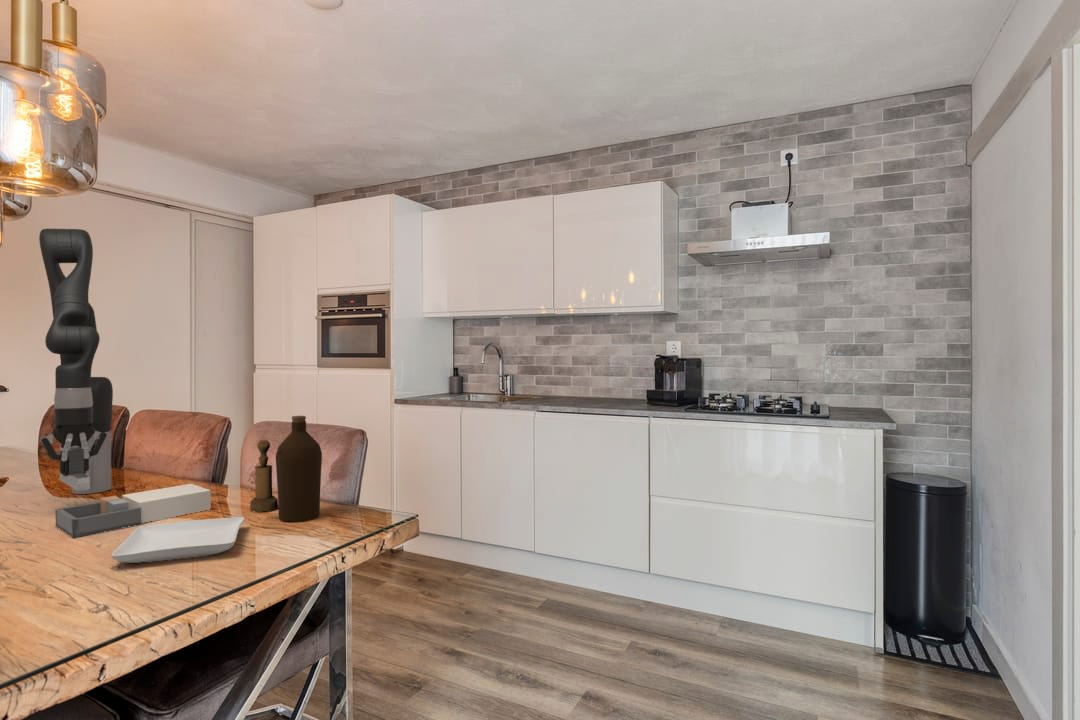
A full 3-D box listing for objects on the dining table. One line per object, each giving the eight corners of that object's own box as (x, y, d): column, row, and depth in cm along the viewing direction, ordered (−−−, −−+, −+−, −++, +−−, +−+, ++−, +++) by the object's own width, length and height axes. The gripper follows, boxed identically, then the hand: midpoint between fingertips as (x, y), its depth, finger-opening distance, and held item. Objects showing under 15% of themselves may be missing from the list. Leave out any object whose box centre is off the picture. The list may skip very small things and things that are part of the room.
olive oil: (309, 523, 142) (309, 419, 141) (267, 522, 143) (266, 418, 142) (329, 511, 152) (329, 414, 152) (290, 510, 153) (289, 413, 153)
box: (55, 526, 139) (55, 509, 139) (120, 514, 149) (120, 498, 149) (73, 538, 131) (72, 520, 130) (141, 524, 141) (140, 507, 141)
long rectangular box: (122, 514, 149) (122, 495, 149) (191, 502, 161) (191, 483, 161) (139, 523, 141) (139, 502, 141) (210, 509, 154) (210, 490, 154)
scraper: (58, 480, 153) (58, 445, 153) (72, 478, 156) (72, 444, 155) (76, 491, 143) (76, 454, 143) (91, 489, 146) (91, 452, 145)
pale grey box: (122, 517, 144) (107, 520, 142) (122, 498, 144) (107, 501, 141) (128, 520, 141) (113, 523, 139) (128, 501, 141) (113, 504, 139)
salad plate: (138, 539, 131) (138, 524, 131) (245, 529, 139) (245, 514, 139) (108, 573, 111) (108, 555, 111) (235, 559, 119) (235, 542, 119)
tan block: (115, 513, 147) (100, 516, 145) (115, 495, 147) (100, 498, 145) (121, 517, 144) (106, 519, 142) (120, 498, 144) (105, 501, 142)
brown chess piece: (244, 510, 153) (243, 441, 153) (264, 504, 159) (264, 437, 159) (263, 513, 150) (263, 442, 150) (283, 507, 156) (283, 439, 156)
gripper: (102, 403, 157) (103, 468, 157) (33, 406, 146) (34, 477, 146) (111, 404, 152) (112, 472, 152) (41, 408, 141) (42, 481, 141)
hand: (74, 474), depth 149 cm, fingers closed on scraper, 3 cm apart
